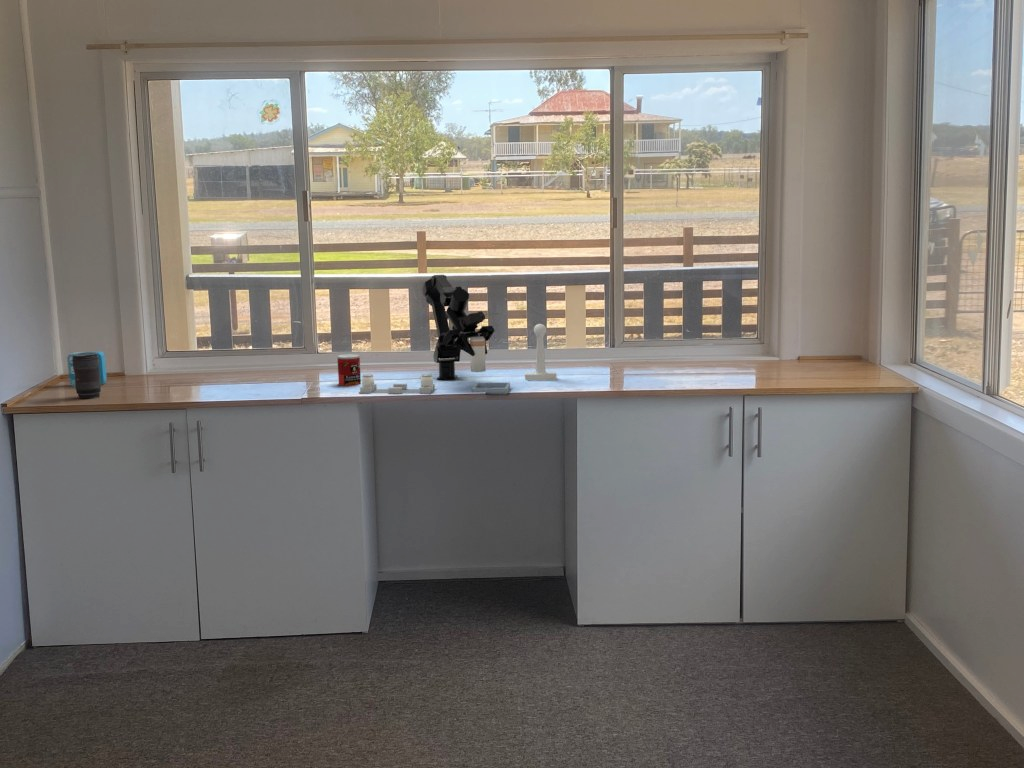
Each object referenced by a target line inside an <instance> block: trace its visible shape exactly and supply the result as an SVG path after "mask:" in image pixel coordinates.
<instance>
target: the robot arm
mask: <svg viewBox="0 0 1024 768" xmlns="http://www.w3.org/2000/svg"><path fill="white" fill-rule="evenodd" d="M422 295H423V297H424V298H425V301H426V303H427V304H428V305H430V307H431V309H432V313H433V318H434V323H435V327H436V332H437V336H438V338H437V341H436V345H435V348H434V353H433V362H434V363H436V364H438V374H439V376H437V377H436V379H446V380H456V379H457V377H458V375H456V369H455V368H456V367H455V363H456V362H460V360H461V351H463V352H465V353H467V354H469V355H472V356H474V355H475V353H474V351H473V349H472V347H471V345H470V341H469V339H471V337H473V336H483V337H484V338H485V355H487V354H488V348H487V347H488V346H487V342H488V341H489V340H490V339H491V338H492V336H493V335H494V333H495V332H496V330H495V328H494V327H493V325H482V326H481V327H480V329H479V330H476V329H477V328H478V327H479V324H480V323H483V321H484V320H485V319H486V316H485V314H484V312H483V311H482V310H480V311H477V312H473V313H469V314H466V312H465V310H466V309H467V306H468V303H469V302H468V301H469V299H470V293H468V291H467V290H465V289H463V287H462V286H455V287H453V286H452V284H451V283H450V281H449V280H448V279H447V275H445V274H434V275H432V276H431V278H430V279H427V280H426V281H424V284H423V286H422ZM446 307H447V309H446ZM448 319H449V320H448ZM449 321H450V322H451V324H452V327H451V329H450V326H449V325H450V324H449ZM455 378H456V379H455Z"/></svg>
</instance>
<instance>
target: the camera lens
mask: <svg viewBox="0 0 1024 768" xmlns="http://www.w3.org/2000/svg"><path fill="white" fill-rule="evenodd" d="M85 352H86V353H78V354H74V355H73V358H72V360H73V369H74V373H75V386H76V387H75V390H76V394H77V396H78V397H79V398H78V399H80V398H91V399H96V398H95V397H97V398H100V397H99V396H100V395H101V387H102V385H101V384H100V376H99V361H98V356H97V353H95V352H96V351H85Z"/></svg>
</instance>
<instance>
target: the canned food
mask: <svg viewBox="0 0 1024 768" xmlns="http://www.w3.org/2000/svg"><path fill="white" fill-rule="evenodd" d="M337 374H338V375H337V376H338V385H339V386H341V387H343V386H344V387H352V386H353V387H354V386H359V385H362V374H361V357H360V354H353V353H348V354H347V353H346V354H345V353H344V354H340V355H337Z"/></svg>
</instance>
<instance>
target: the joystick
mask: <svg viewBox="0 0 1024 768" xmlns="http://www.w3.org/2000/svg"><path fill="white" fill-rule="evenodd" d="M533 332H534V335H535V336H536V354H535V371H534V372H525V373H524V380H546V381H555V380H554V379H556V380H557V372H556V371H552V372H551V371H549V372H546V371H547V370H546V357H545V344H544V343H545V342H544V337H545V335H546V333H547V328H546V325H544V324H542V323H537V324H535V326H534V327H533Z"/></svg>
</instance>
